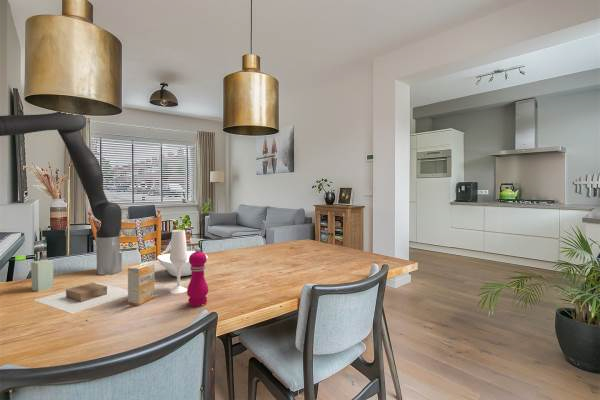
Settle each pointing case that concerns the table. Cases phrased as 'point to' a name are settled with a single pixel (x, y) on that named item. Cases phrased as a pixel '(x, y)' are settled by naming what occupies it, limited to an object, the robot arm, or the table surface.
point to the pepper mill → (197, 279)
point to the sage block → (42, 275)
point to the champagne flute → (178, 256)
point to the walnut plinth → (86, 292)
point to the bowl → (173, 269)
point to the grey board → (75, 306)
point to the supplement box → (140, 283)
